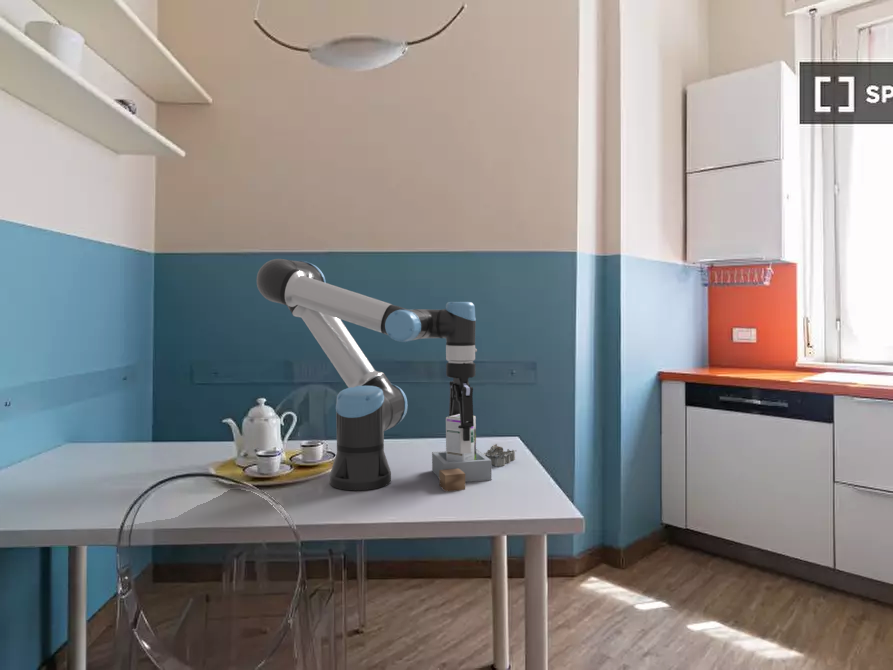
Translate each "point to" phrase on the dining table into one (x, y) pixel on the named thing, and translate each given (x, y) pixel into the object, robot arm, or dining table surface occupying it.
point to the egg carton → (500, 455)
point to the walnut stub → (452, 479)
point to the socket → (464, 466)
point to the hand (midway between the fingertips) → (460, 449)
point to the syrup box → (458, 440)
